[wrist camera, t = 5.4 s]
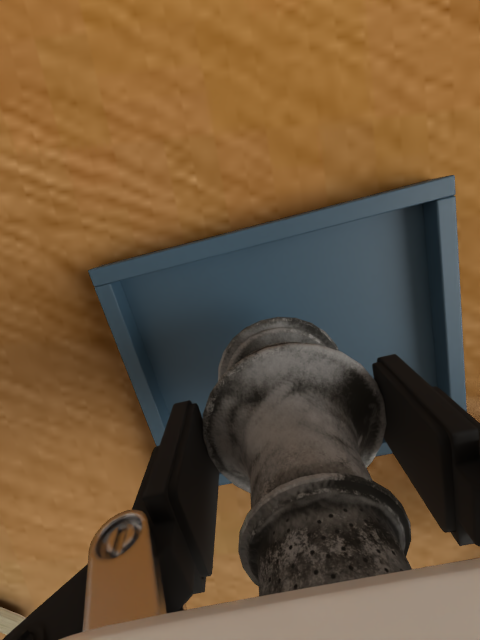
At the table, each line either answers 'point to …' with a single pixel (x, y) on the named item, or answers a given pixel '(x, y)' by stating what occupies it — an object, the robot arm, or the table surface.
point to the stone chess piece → (304, 458)
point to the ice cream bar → (9, 620)
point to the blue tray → (295, 294)
